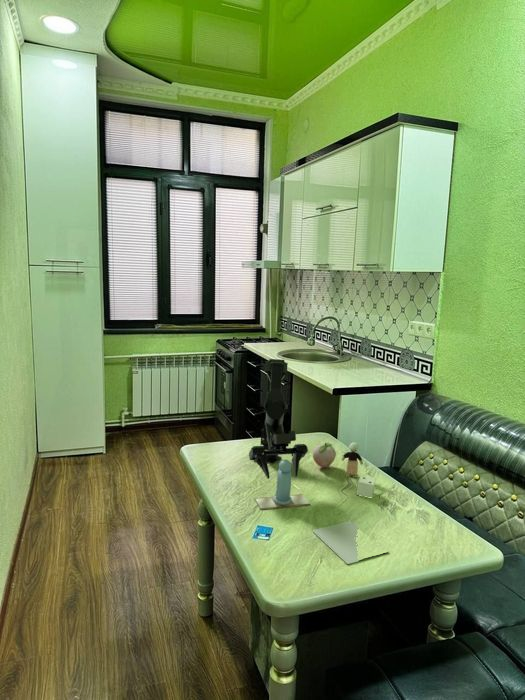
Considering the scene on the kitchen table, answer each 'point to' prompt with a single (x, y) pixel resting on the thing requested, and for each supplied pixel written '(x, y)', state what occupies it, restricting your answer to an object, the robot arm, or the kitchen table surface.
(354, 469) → the grandmother figurine
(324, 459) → the decorative fruit
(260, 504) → the board
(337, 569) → the kitchen table surface
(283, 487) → the pawn
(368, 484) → the die
